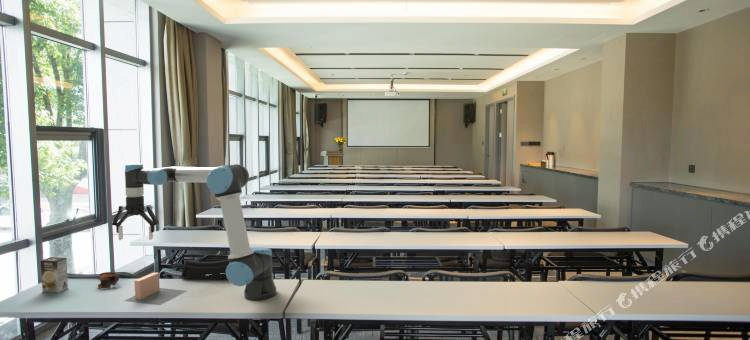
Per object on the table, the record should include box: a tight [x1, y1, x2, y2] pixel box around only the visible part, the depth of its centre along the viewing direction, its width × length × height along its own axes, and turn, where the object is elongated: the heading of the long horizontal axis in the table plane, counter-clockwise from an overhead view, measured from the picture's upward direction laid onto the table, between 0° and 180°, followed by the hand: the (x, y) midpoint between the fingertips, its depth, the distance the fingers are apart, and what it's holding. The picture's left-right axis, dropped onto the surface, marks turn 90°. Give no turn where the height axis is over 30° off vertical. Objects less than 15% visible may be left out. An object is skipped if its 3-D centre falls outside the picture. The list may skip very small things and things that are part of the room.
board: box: [133, 272, 161, 300], centre depth 203 cm, size 3×12×9 cm, turn 166°
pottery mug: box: [97, 271, 120, 289], centre depth 217 cm, size 12×10×8 cm
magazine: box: [180, 259, 229, 280], centre depth 227 cm, size 17×3×30 cm
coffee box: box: [40, 256, 69, 294], centre depth 210 cm, size 9×6×16 cm
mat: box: [124, 287, 187, 306], centre depth 202 cm, size 20×18×1 cm
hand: (136, 239), depth 203 cm, fingers open, 13 cm apart
